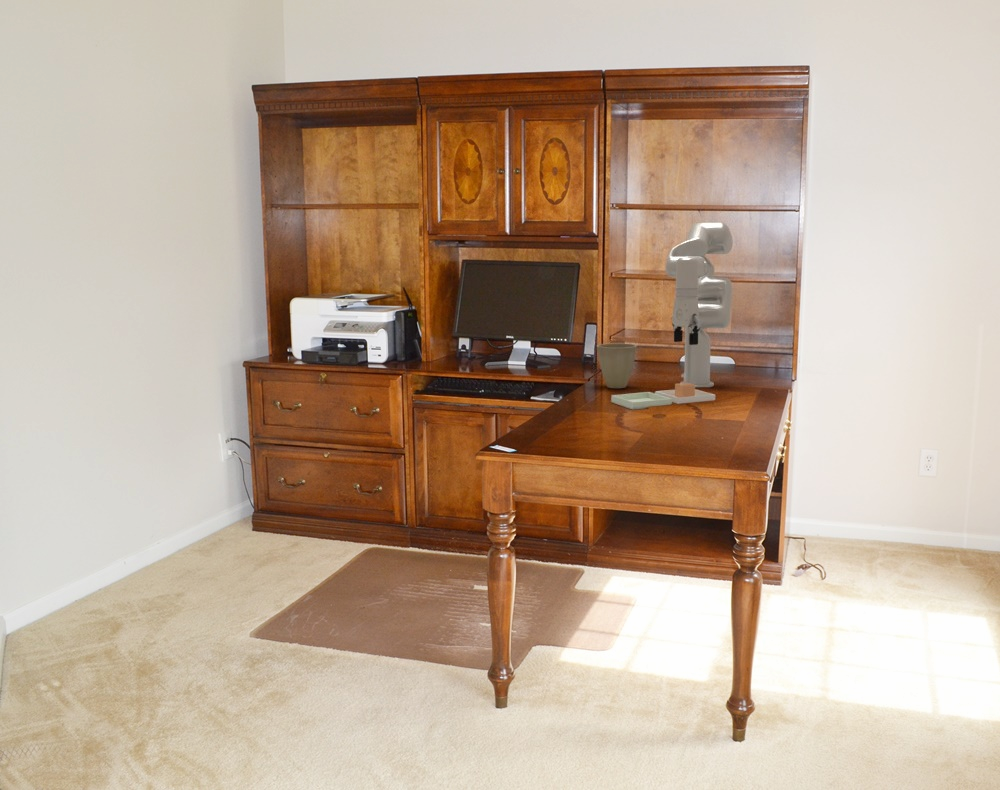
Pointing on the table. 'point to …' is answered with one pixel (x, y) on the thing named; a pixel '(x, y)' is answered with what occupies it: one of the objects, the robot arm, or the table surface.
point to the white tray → (698, 397)
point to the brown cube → (684, 390)
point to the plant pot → (616, 363)
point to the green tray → (640, 400)
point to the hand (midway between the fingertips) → (685, 343)
